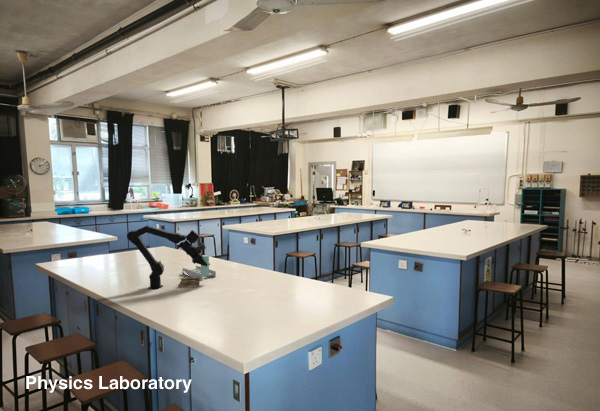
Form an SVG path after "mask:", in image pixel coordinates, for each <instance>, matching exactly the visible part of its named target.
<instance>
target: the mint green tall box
mask: <svg viewBox="0 0 600 411" xmlns="http://www.w3.org/2000/svg"><path fill="white" fill-rule="evenodd" d="M209 257H210V255H207V254H206V255H203V260H204V261H205V262H206V264H207V266H204V265H201V264H200V267H201V276H206V277H210V276H209V269H210V266H211V263H210V258H209Z"/></svg>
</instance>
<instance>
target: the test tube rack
mask: <svg viewBox="0 0 600 411" xmlns="http://www.w3.org/2000/svg"><path fill="white" fill-rule="evenodd" d="M183 271H185V272H186V273H187V274H188V275H189V276H188V277H189V278H195V277H197V276H199V281H201V280H202V281H203V278H204V277H207V276H201V265H195V268H190V269H189V268H185V267H182V272H183ZM212 276H213V278H216V277H217V271H216V270H213V269H210V268H209V276H208V277H212Z"/></svg>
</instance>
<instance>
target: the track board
mask: <svg viewBox="0 0 600 411" xmlns="http://www.w3.org/2000/svg"><path fill="white" fill-rule="evenodd" d="M200 281H201V280H199V276H197V277H195V278H193V277H182V278H181V279H180V281H179V284H178V288H179V289H181V287H182V288H192V287H193V286H196V287H200ZM193 288H194V287H193Z"/></svg>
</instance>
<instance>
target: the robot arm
mask: <svg viewBox="0 0 600 411" xmlns="http://www.w3.org/2000/svg"><path fill="white" fill-rule="evenodd" d="M146 233H147V234H150V235H153V236H156V237H160V238H164V239H166V240H168V241H170V242H171V243H173V244H176V250H179V249H181V250H183V252H185V253H186V255H187V256H189V257H190V258H191V262H192V263H193V264H194V265H195V264H198V265H200V266H201V265H204V266H207V264H206V262H205V261H204V260H203V256H204V255H203V254H204V253H203V250H205V249H206V248H207V247H206V245H205V243H204V242H203V243H202V242H199V243H198V245H197V246H195V245H193V244H195V243H196V242H197V241H198V240H199V239H200V238H201V236H200V234H198V232H196V231H195V230H193V229H192V230H190V232H189V233H188V234H187V235H185V234H181V233H178V232H170V231H166V230H163V229H160V228H156V227H153V226H150V225H148V224H146V225H145V226H143V227H141V228H138V229H133V230H130V231H129V232H128V233H127V234H126V238H127V240H128V241H129V242H130V243H132V244H133V245H134V246H136V248H137V249H138V250H139V252H140V253H141V255H142V256H143V257H144V259H145V261H146V262H147V263H148V264H149V268H150V270H151V273H150V274H149V277H148V278H149V286H148V287H147V289H149V290H150V289H151V290H158V289H160V288H162V287H164V285H162V284H161V283H162V280H161V275H163V274H164V271H165V265H164V264H162V262H161V260H156V259H155V257H154V256H153V255H152V253H151V251H150V250H149V249H148V247H147V245H145V243H144V242H143V239H142V235H144V234H146Z"/></svg>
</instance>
